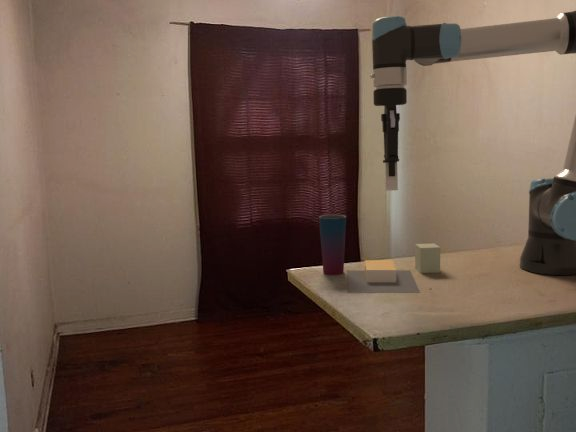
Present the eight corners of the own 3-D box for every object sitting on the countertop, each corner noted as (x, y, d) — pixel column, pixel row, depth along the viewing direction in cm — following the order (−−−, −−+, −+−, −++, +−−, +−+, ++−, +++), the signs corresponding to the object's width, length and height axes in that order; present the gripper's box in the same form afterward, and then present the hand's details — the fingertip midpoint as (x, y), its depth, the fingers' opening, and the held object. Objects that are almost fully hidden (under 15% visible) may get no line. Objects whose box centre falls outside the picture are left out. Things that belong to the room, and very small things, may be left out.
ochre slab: (396, 282, 139) (392, 271, 149) (396, 269, 139) (392, 260, 149) (366, 282, 140) (364, 271, 150) (366, 270, 139) (364, 260, 149)
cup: (317, 277, 148) (316, 218, 145) (322, 271, 154) (321, 214, 152) (344, 278, 146) (344, 218, 144) (348, 271, 152) (348, 214, 150)
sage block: (434, 269, 153) (434, 243, 151) (440, 274, 148) (440, 247, 147) (414, 270, 152) (415, 244, 151) (420, 275, 147) (420, 248, 146)
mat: (410, 272, 150) (410, 270, 150) (420, 295, 130) (420, 292, 130) (346, 272, 152) (346, 270, 151) (347, 295, 132) (347, 292, 132)
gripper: (371, 90, 142) (373, 187, 146) (375, 87, 129) (377, 193, 133) (403, 88, 142) (404, 186, 145) (409, 85, 129) (411, 192, 132)
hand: (391, 189), depth 139 cm, fingers closed
